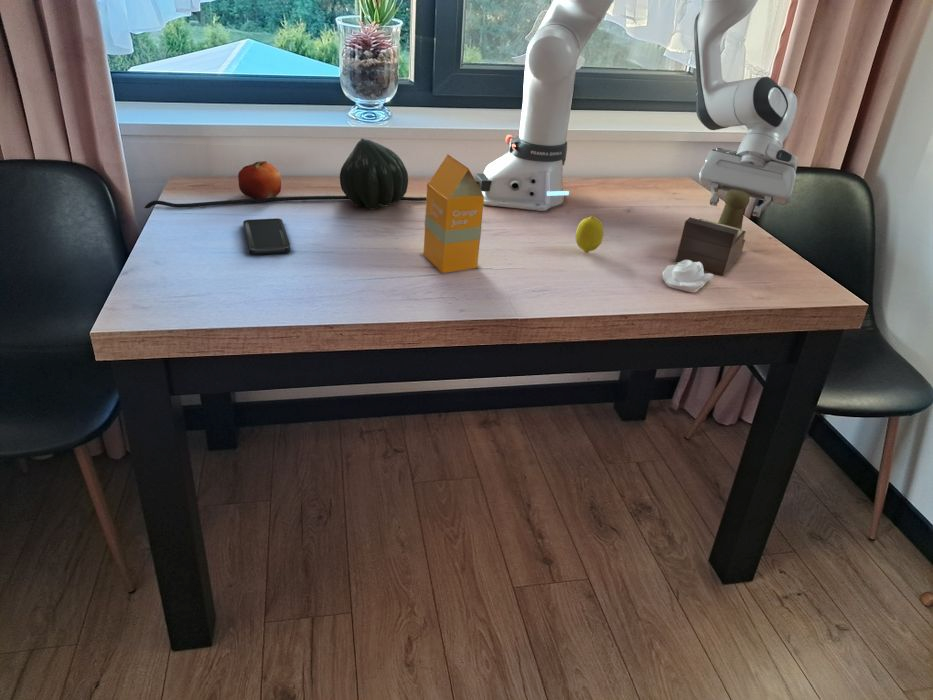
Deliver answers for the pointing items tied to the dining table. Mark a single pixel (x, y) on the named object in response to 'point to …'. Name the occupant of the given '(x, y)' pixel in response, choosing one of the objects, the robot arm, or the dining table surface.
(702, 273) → the rose
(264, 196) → the tomato
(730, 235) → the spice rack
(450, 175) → the orange juice
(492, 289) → the dining table surface
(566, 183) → the dining table surface
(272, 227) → the phone
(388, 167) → the squash
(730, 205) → the cork
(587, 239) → the lemon
